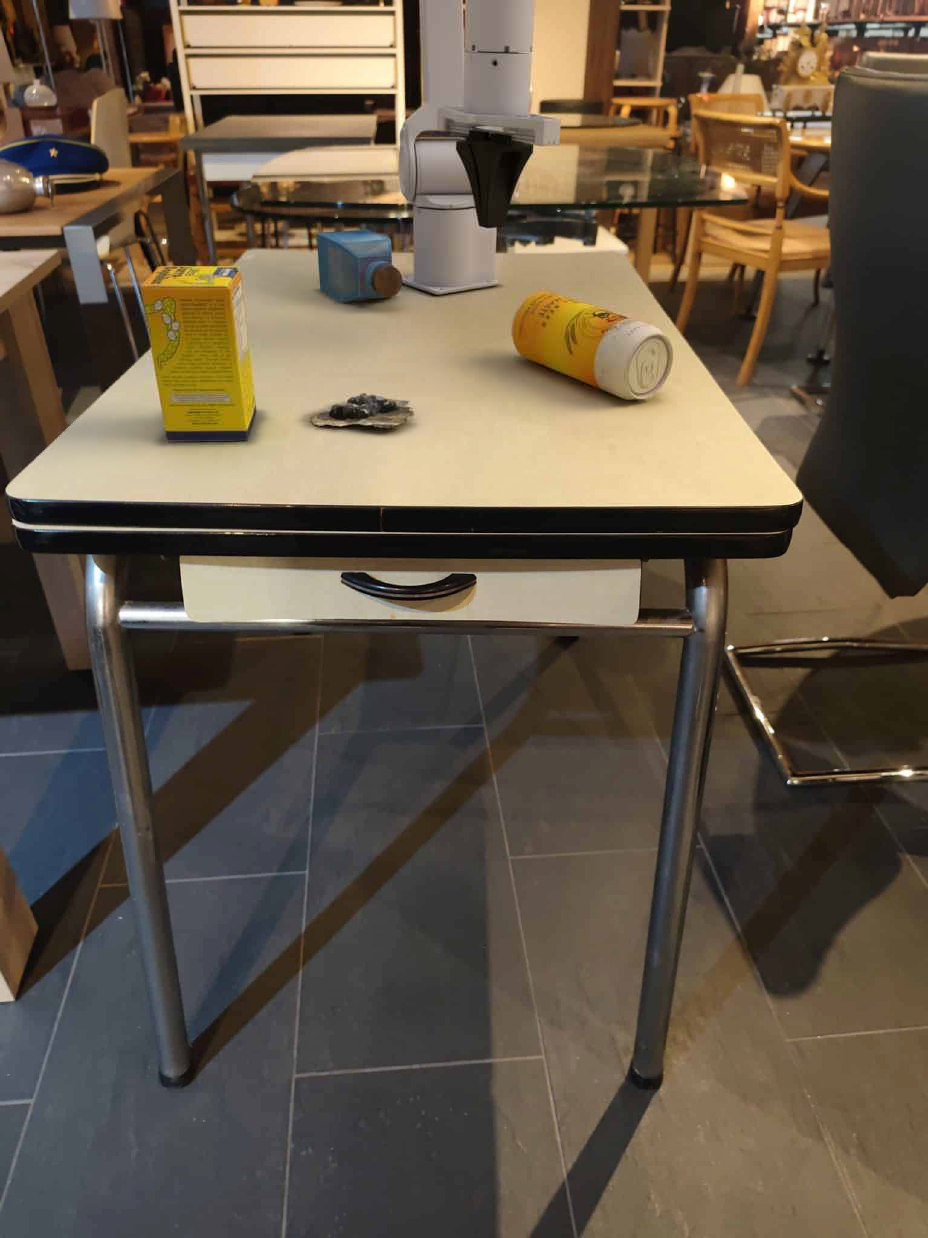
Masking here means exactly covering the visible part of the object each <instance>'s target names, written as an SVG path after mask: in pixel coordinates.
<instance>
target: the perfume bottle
mask: <svg viewBox="0 0 928 1238" xmlns="http://www.w3.org/2000/svg"><path fill="white" fill-rule="evenodd" d="M316 246H317V248H316V249H317V261H318V262H317V263H318V276H319V277H318V278H319V279H318V280H319V289H320V292H322V293H324V294H325V295H327V296H329V297H331V298H333V299H334V300H335V301H338V302H340V303H341V304H342V303H343V304H344V303H352V302H360V301H369V300H379V299H386V298H387V299H388V298H393V297H395V296H396V295H397V294H398V293H399V292H400V291H401V289H402V286H403V283H402V281H403V280H402V277H403V275H402V273H401V271H400V270H399V269H398V268H396V267H395V266H394V265H393V251H392V239H391V238H390V237H387V236H385V235H382V234H381V233H378V232H375V231H372V230H370V229H367V228H366V229H364V228H363V229H352V230H338V231H326V232H316Z"/></svg>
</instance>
